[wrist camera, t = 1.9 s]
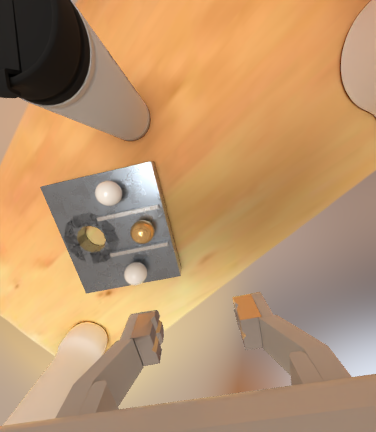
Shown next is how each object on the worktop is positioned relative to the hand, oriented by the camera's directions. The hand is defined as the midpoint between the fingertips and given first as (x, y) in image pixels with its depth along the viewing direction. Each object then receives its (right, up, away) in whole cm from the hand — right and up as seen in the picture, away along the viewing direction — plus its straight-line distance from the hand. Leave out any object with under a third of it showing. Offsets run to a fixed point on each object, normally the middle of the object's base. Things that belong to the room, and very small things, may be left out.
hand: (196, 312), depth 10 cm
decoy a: (-9, -4, +19) cm, 21 cm away
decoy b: (-12, +8, +15) cm, 21 cm away
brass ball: (-7, +3, +17) cm, 18 cm away
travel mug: (-9, +20, +17) cm, 27 cm away
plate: (-12, +3, +21) cm, 25 cm away
